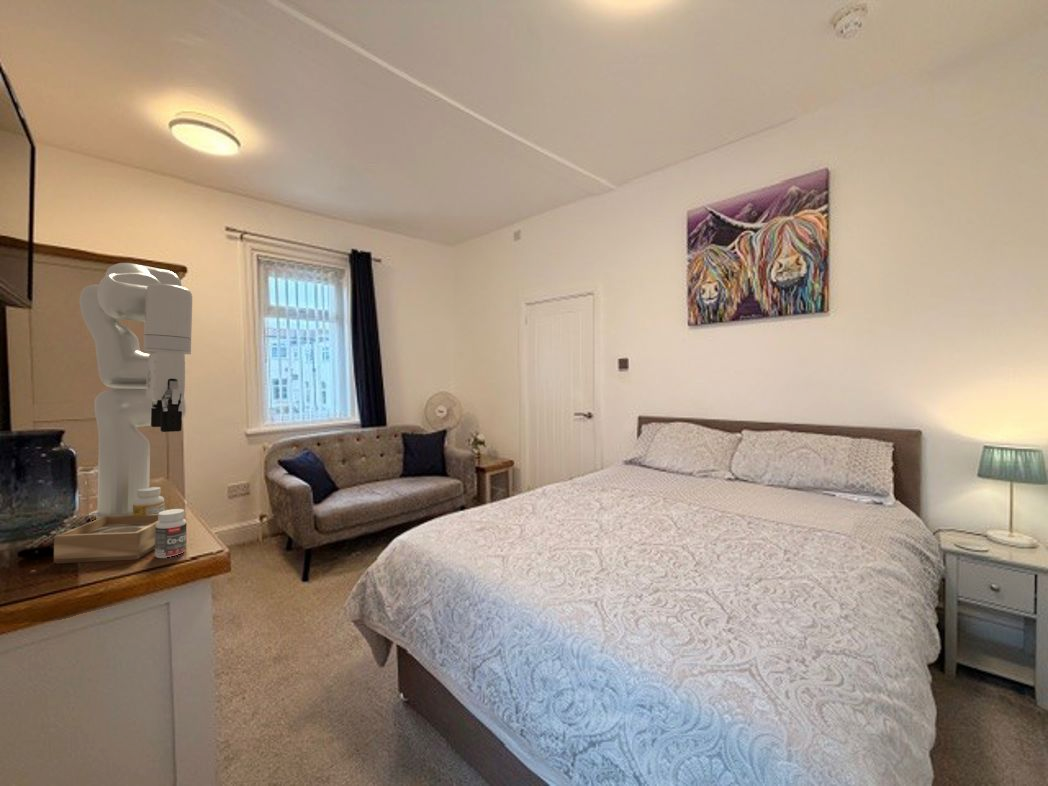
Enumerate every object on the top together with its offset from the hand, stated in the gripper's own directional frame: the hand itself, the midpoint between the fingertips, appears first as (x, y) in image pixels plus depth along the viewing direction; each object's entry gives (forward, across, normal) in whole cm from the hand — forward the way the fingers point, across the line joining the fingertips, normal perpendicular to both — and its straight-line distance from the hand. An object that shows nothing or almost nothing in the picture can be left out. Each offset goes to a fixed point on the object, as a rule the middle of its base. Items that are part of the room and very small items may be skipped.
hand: (165, 428), depth 90 cm
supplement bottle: (+24, -12, 0) cm, 27 cm away
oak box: (+24, -3, -6) cm, 25 cm away
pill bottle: (+24, +7, 0) cm, 25 cm away
